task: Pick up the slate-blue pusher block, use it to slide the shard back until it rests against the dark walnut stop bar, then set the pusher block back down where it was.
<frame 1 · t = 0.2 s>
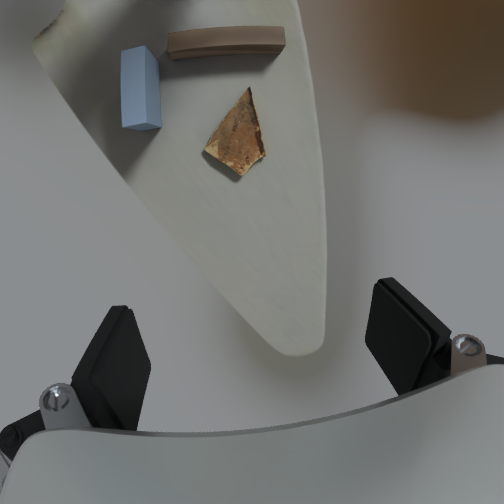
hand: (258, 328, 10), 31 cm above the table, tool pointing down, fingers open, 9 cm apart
stop bar: (226, 46, 30), on the table
pusher block: (150, 96, 32), on the table
shard: (231, 133, 36), on the table
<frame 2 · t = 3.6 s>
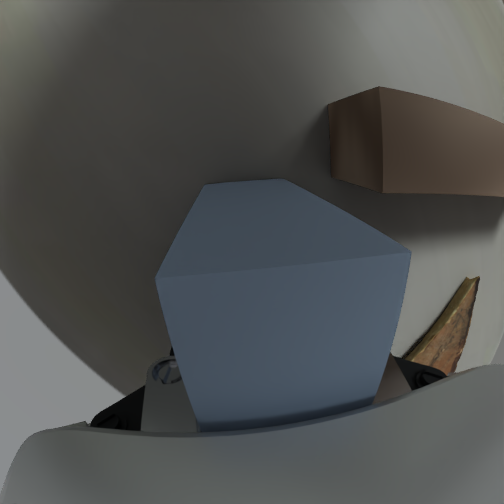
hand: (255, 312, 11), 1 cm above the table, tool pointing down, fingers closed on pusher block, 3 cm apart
stop bar: (457, 152, 11), on the table
pusher block: (252, 297, 12), on the table, touching gripper
shard: (412, 354, 16), on the table
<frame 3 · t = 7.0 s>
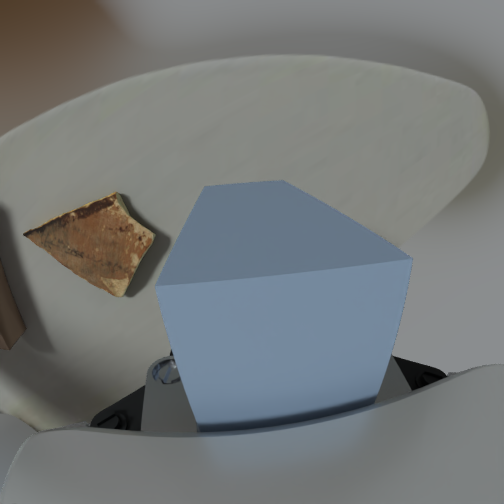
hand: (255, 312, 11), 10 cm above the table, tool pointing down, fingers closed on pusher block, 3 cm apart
pusher block: (252, 298, 12), point 9 cm above the table, touching gripper
shard: (95, 250, 20), on the table
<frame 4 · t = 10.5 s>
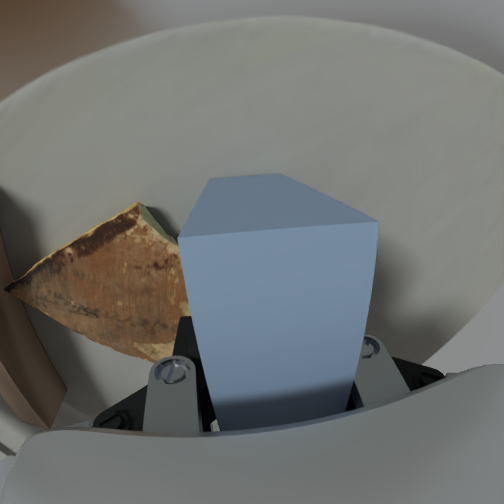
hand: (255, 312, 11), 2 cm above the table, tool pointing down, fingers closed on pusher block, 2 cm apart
stop bar: (8, 301, 12), on the table
pusher block: (252, 284, 13), on the table, touching shard, gripper
shard: (116, 299, 13), on the table, touching pusher block
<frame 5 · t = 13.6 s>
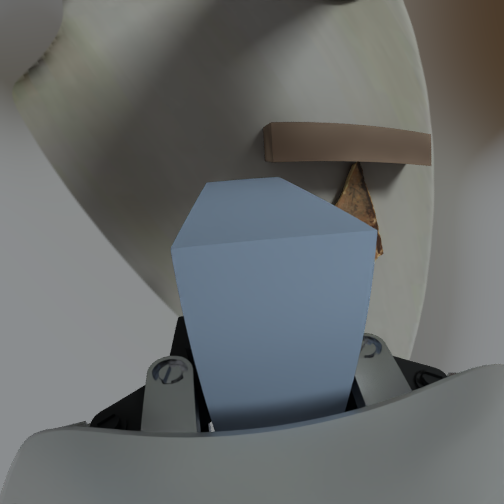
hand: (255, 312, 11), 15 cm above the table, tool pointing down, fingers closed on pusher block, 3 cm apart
stop bar: (344, 143, 23), on the table
pusher block: (250, 287, 13), point 13 cm above the table, touching gripper
shard: (336, 228, 27), on the table
when the fingers open (2 cm above the table, at t = 16.4 s): pusher block stays where it is, on the table.
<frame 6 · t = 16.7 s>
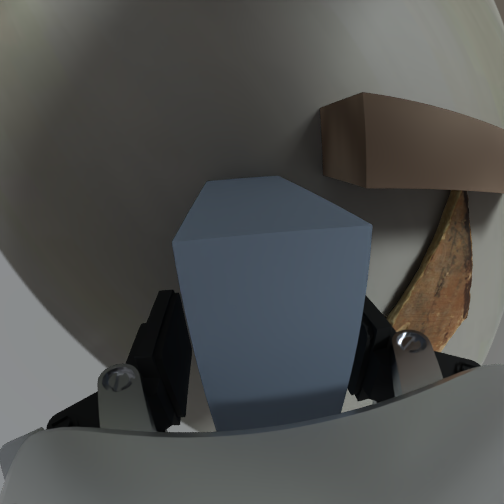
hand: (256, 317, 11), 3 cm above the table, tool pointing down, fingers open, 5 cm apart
stop bar: (445, 151, 11), on the table
pusher block: (250, 285, 13), on the table
shard: (415, 287, 15), on the table
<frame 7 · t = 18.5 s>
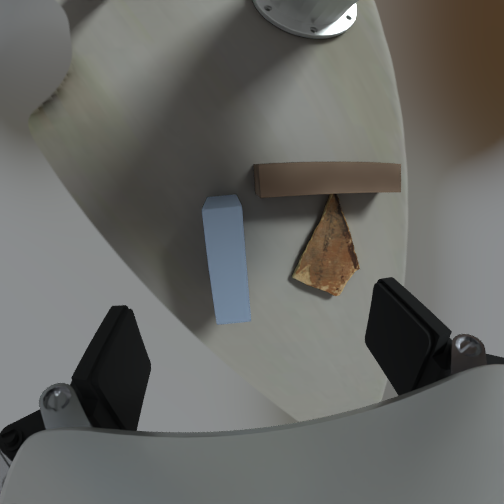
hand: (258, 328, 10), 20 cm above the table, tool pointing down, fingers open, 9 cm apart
stop bar: (323, 175, 28), on the table
pusher block: (226, 242, 30), on the table
shard: (317, 248, 32), on the table
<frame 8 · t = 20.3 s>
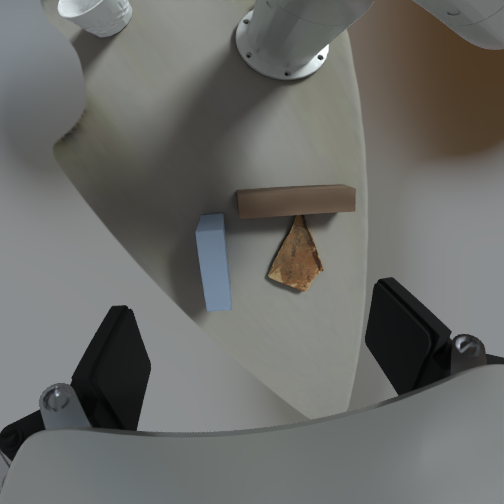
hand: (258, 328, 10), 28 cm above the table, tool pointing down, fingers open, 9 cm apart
stop bar: (292, 197, 37), on the table
pusher block: (216, 249, 39), on the table
shard: (288, 253, 41), on the table
white cup: (112, 20, 25), on the table
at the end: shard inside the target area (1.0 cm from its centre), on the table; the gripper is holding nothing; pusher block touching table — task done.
